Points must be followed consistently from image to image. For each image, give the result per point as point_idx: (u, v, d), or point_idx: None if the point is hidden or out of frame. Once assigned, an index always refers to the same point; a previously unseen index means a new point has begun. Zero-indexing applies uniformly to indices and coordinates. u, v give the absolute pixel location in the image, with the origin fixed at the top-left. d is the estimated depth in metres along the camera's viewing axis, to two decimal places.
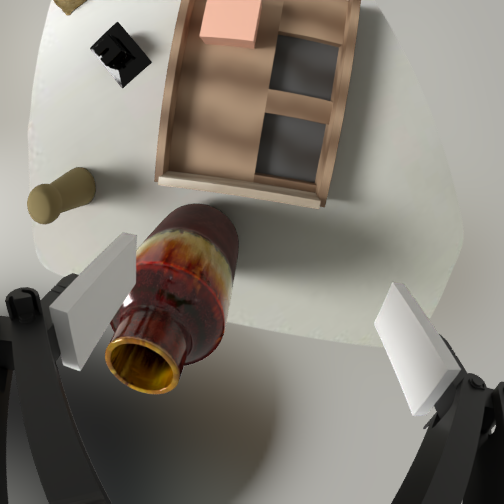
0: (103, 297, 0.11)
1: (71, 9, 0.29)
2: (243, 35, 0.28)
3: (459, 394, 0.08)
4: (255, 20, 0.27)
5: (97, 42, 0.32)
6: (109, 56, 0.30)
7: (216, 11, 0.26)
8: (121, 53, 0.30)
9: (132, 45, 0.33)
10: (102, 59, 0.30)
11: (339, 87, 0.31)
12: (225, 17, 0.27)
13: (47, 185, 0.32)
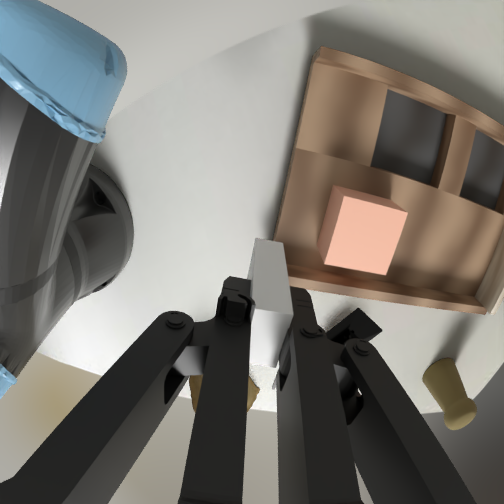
0: None
1: (254, 388, 0.40)
2: (398, 224, 0.24)
3: (294, 351, 0.09)
4: (380, 207, 0.23)
5: None
6: None
7: (356, 255, 0.25)
8: None
9: (333, 331, 0.36)
10: None
11: (454, 108, 0.21)
12: (368, 244, 0.25)
13: (451, 412, 0.31)
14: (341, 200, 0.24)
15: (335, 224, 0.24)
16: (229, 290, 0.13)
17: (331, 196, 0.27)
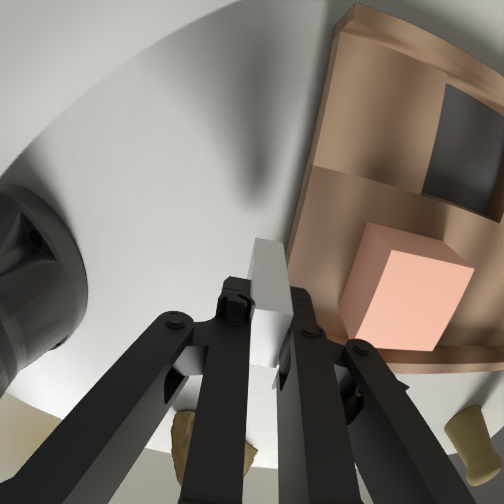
0: None
1: (251, 451, 0.31)
2: (460, 285, 0.15)
3: (294, 351, 0.09)
4: (440, 263, 0.14)
5: None
6: None
7: (398, 331, 0.16)
8: None
9: None
10: None
11: None
12: (416, 316, 0.15)
13: (475, 470, 0.22)
14: (385, 255, 0.14)
15: (373, 291, 0.15)
16: (229, 290, 0.13)
17: (364, 240, 0.17)
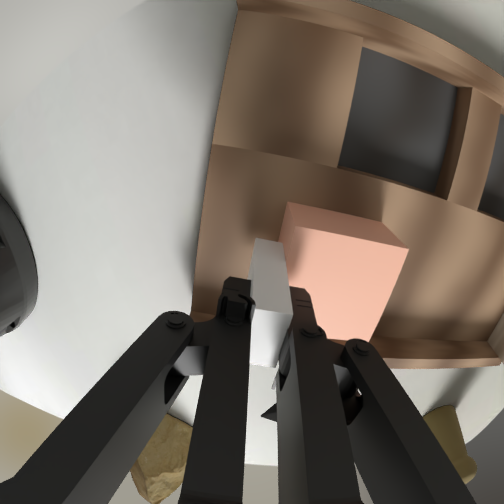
0: None
1: None
2: (392, 268, 0.15)
3: (294, 351, 0.09)
4: (361, 242, 0.14)
5: None
6: None
7: (320, 318, 0.16)
8: None
9: None
10: None
11: (472, 74, 0.12)
12: (340, 301, 0.15)
13: None
14: (292, 233, 0.14)
15: None
16: (229, 290, 0.13)
17: (284, 220, 0.17)
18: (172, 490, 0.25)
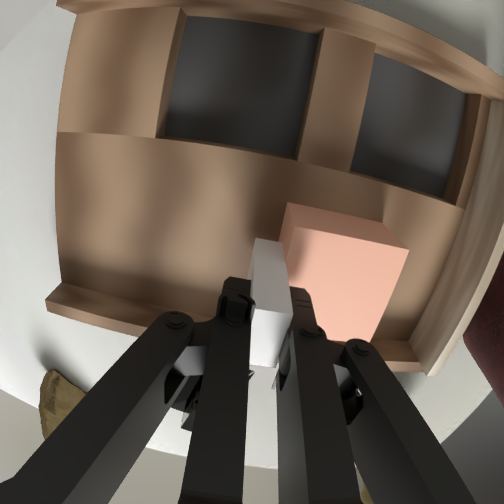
0: None
1: None
2: (392, 268, 0.14)
3: (294, 351, 0.09)
4: (360, 242, 0.14)
5: None
6: None
7: (320, 319, 0.16)
8: None
9: None
10: None
11: (297, 7, 0.11)
12: (340, 302, 0.15)
13: (367, 494, 0.21)
14: (291, 233, 0.14)
15: None
16: (229, 290, 0.13)
17: (284, 221, 0.17)
18: None
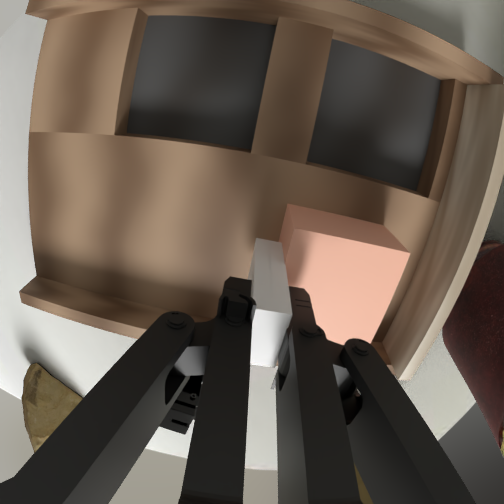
0: None
1: None
2: (393, 272, 0.14)
3: (293, 351, 0.09)
4: (361, 245, 0.14)
5: None
6: (178, 415, 0.23)
7: (319, 322, 0.16)
8: None
9: None
10: (189, 421, 0.23)
11: None
12: (339, 305, 0.15)
13: None
14: (290, 235, 0.14)
15: None
16: (230, 290, 0.13)
17: (284, 222, 0.17)
18: None
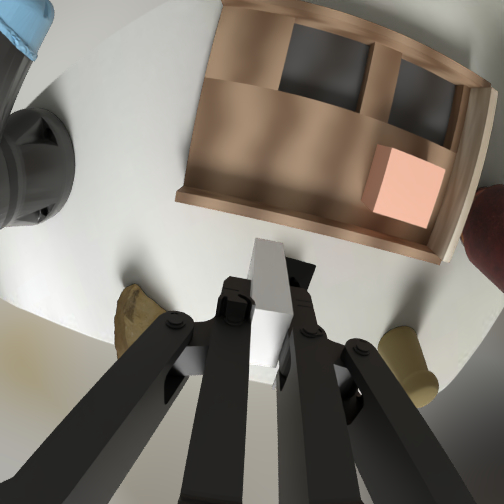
0: None
1: None
2: (437, 179, 0.24)
3: (294, 351, 0.09)
4: (422, 161, 0.24)
5: None
6: None
7: (401, 205, 0.25)
8: None
9: None
10: None
11: (364, 30, 0.21)
12: (411, 196, 0.25)
13: (405, 385, 0.30)
14: (389, 152, 0.24)
15: (383, 174, 0.25)
16: (229, 290, 0.13)
17: (376, 153, 0.27)
18: None
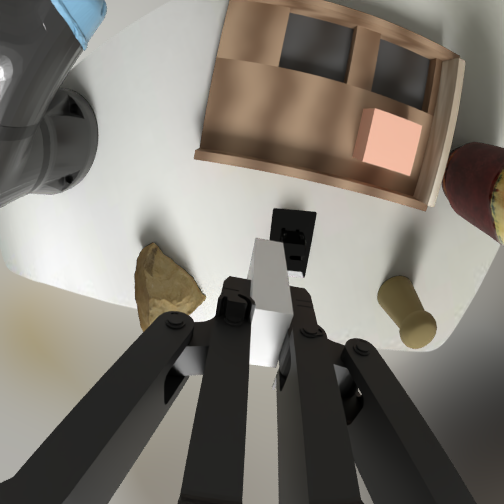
0: None
1: (200, 294, 0.44)
2: (416, 134, 0.29)
3: (294, 351, 0.09)
4: (401, 119, 0.28)
5: (294, 275, 0.43)
6: (295, 249, 0.37)
7: (386, 156, 0.30)
8: (285, 241, 0.37)
9: (273, 240, 0.41)
10: (303, 253, 0.37)
11: (348, 16, 0.25)
12: (394, 147, 0.29)
13: (405, 324, 0.35)
14: (372, 112, 0.28)
15: (369, 129, 0.29)
16: (229, 290, 0.13)
17: (362, 116, 0.31)
18: None
